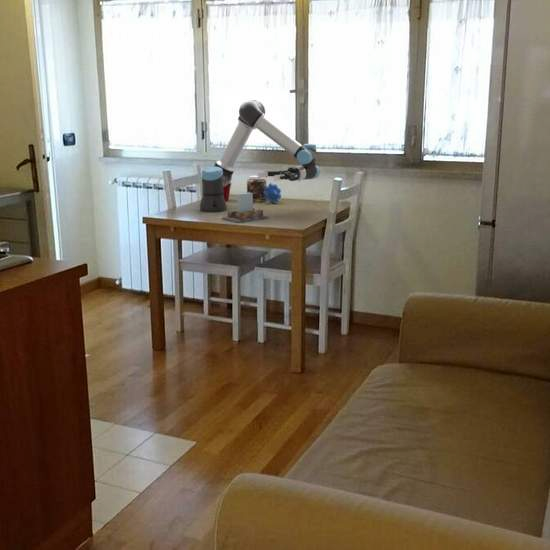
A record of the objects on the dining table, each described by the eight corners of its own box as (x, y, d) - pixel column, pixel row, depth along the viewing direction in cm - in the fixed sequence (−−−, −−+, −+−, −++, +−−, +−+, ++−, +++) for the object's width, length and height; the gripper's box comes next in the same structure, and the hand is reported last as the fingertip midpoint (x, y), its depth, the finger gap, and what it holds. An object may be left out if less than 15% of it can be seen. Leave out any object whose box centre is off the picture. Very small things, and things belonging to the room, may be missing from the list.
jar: (249, 199, 436) (249, 174, 432) (268, 199, 434) (268, 175, 430) (245, 202, 425) (244, 177, 421) (264, 203, 423) (263, 177, 419)
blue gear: (267, 205, 415) (267, 184, 412) (262, 203, 421) (261, 183, 418) (284, 203, 421) (284, 183, 418) (279, 201, 426) (279, 181, 423)
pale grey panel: (241, 217, 371) (240, 194, 368) (238, 217, 373) (237, 194, 370) (252, 215, 376) (252, 193, 373) (249, 215, 378) (249, 192, 375)
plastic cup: (230, 202, 426) (229, 182, 423) (212, 201, 428) (212, 181, 425) (234, 199, 436) (234, 179, 433) (217, 199, 438) (217, 179, 435)
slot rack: (238, 222, 363) (238, 214, 362) (222, 219, 373) (222, 211, 372) (268, 217, 376) (268, 210, 375) (251, 214, 386) (251, 206, 385)
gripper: (311, 183, 384) (281, 186, 370) (280, 177, 402) (251, 180, 388) (311, 169, 382) (282, 172, 368) (280, 164, 400) (251, 167, 386)
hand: (266, 176), depth 378 cm, fingers open, 13 cm apart
